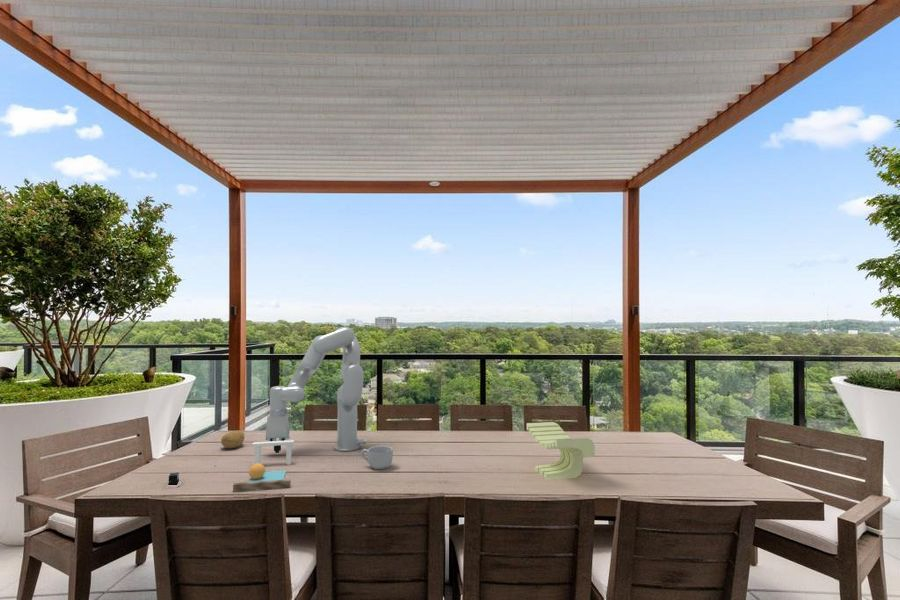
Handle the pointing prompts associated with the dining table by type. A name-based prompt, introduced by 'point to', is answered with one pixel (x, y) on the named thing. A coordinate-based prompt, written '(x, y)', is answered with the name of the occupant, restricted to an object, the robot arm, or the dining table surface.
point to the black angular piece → (173, 478)
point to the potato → (233, 439)
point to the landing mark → (270, 476)
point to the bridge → (273, 443)
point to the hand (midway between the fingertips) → (277, 452)
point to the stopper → (262, 485)
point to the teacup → (379, 456)
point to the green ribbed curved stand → (561, 450)
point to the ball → (256, 471)
